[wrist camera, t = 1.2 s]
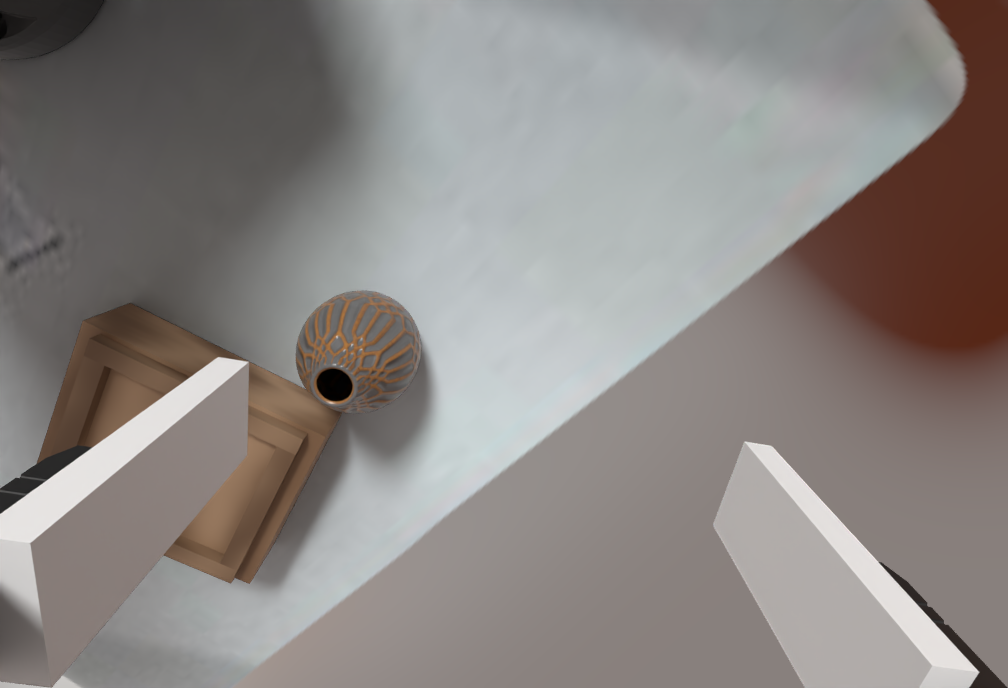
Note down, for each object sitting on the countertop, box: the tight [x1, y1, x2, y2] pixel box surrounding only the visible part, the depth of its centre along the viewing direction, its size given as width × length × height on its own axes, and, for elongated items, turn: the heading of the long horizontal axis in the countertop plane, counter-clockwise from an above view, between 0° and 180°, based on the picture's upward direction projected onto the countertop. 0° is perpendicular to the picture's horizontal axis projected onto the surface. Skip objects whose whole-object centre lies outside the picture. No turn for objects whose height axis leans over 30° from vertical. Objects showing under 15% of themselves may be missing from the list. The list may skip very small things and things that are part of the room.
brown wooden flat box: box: [37, 303, 342, 584], centre depth 35 cm, size 15×13×5 cm
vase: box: [296, 291, 421, 414], centre depth 31 cm, size 7×7×9 cm
